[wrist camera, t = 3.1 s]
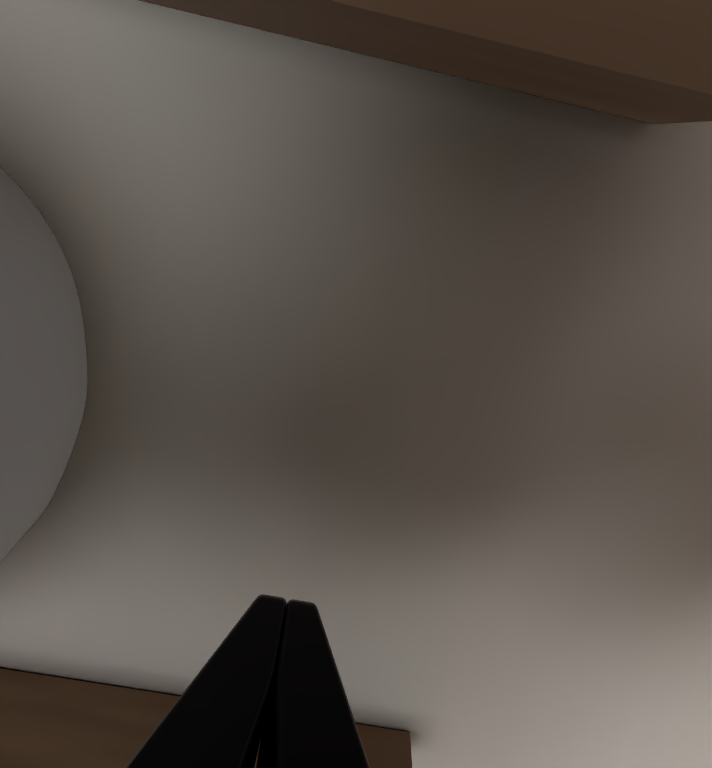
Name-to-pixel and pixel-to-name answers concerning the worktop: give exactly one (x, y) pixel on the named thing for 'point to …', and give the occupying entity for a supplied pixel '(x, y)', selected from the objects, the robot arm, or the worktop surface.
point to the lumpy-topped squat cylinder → (35, 363)
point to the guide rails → (448, 56)
